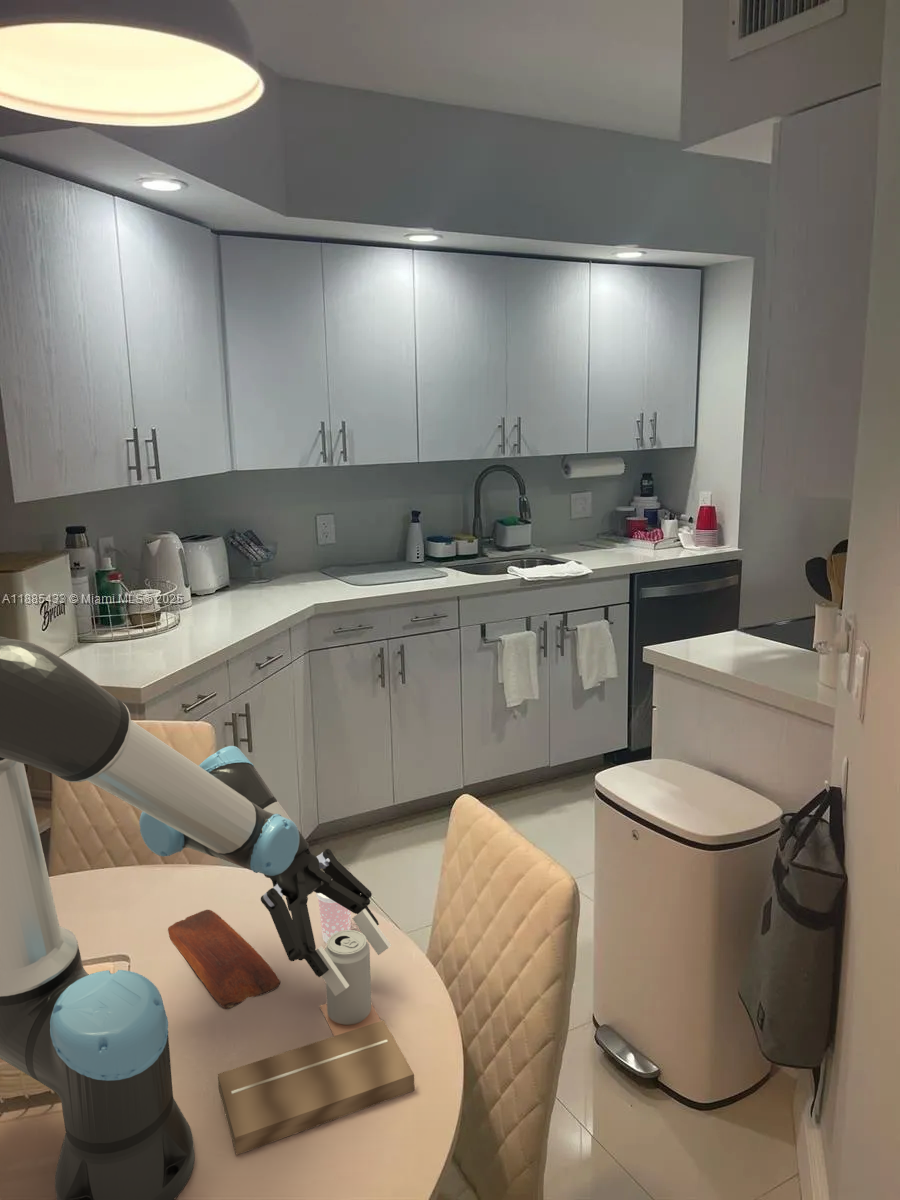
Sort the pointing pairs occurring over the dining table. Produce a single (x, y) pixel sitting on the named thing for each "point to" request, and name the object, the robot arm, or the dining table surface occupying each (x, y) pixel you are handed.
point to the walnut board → (312, 1085)
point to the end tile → (340, 1028)
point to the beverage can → (350, 977)
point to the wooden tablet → (222, 959)
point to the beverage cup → (332, 916)
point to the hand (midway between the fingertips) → (364, 969)
